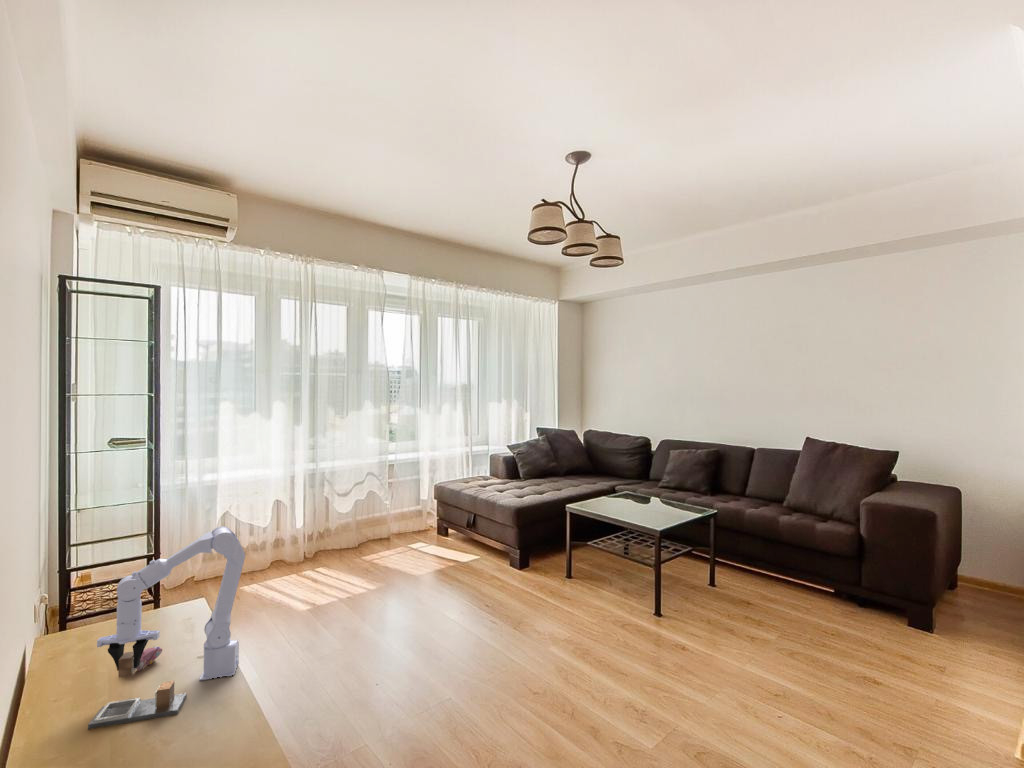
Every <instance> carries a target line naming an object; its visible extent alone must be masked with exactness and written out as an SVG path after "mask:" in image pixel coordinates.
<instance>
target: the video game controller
mask: <svg viewBox="0 0 1024 768" xmlns="http://www.w3.org/2000/svg"><path fill="white" fill-rule="evenodd" d="M162 652H163V648H161V647H160V646H157V645H154V646H153V647H148V648H144V651H143V653H142V656H141V660H140V665H139V666H138V668H137V669H136V670H137V671H138V672H140V671H142V670H143V669H144V668H145V666H146V665H147V666H148V665H149V666H151V665H152V664H153V663H154V662H155V660H156V659H157V658H158V657H159V656H160V655H161V654H162ZM141 669H142V670H141Z"/></svg>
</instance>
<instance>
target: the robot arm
mask: <svg viewBox="0 0 1024 768" xmlns="http://www.w3.org/2000/svg"><path fill="white" fill-rule="evenodd" d="M240 542H241V541H240V540H239V538H238V536H237V535H236V533H234V532H233V531H232V530H231V529H230V528H229V527H227V526H217V527H216V528H214V529H213V530H212V531H208V532H205V533H204V534H203V535H201V536H200V537H199V538H197V539H195V540H194V541H192V542H191V543H189V544H188V545H186V546H184V547H183V548H181V549H180V550H178V551H177V552H175V553H174V554H172V555H170V556H169V557H167V558H158V559H156V560H155V559H152V560H150V561H149V564H147V565H146V566H145V567H143V568H141V569H139V570H138V571H133V572H131V575H127V576H124V577H123V578H121V579H120V581H119V582H118V584H117V587H116V596H117V600H116V601H117V602H116V603H117V605H116V630H115V633H116V634H111V635H106V636H102V637H101V636H100V637H99V638H98V639H97V640H96V648H102V647H103V646H108V647H109V648H107V653H108V654H109V655H110V657H111V658H112V659H113V661H114V663H115V666H116V671H118V670H119V659H120V658H121V656H122V655H123V654H124V653H125V652H124V651H125V646H126V644H128V643H134V644H133V645H132V652H134V668H137V667H138V666H139V665H140V660H141V656H142V653H143V651H144V650H145V649H146V647H147V644H148V642H149V640H151V641H157V640H159V638H160V636H161V635H160V631H161V630H159V629H158V630H143V629H142V621H143V620H142V614H143V612H142V611H143V610H142V609H143V608H142V607H143V605H142V603H143V601H142V600H141V599H142V598H141V596H142V594H143V591H145V590H147V589H149V588H151V587H152V586H154V585H156V584H157V583H158V582H160V581H162V580H163V579H165V578H167V577H168V576H170V575H171V574H172V573H171V572H172V570H173V569H174V568H175V567H177V566H179V565H181V564H183V563H185V562H186V561H188V560H190V559H192V558H194V557H195V556H196V555H198V554H200V553H201V554H202V553H205V554H206V553H207V554H212V552H213V550H214V551H215V552H216V553H217V554H220V555H222V556H223V557H224V558H225V559H226V561H225V562H226V563H225V566H224V569H223V570H224V571H223V574H222V578H221V582H220V585H219V586H220V587H219V589H218V593H217V597H216V601H215V605H214V609H213V611H212V612H211V615H210V618H209V619H208V620H207V622H206V623H205V625H204V629H203V630H204V635H205V636H206V640H205V641H204V643H203V670H202V673H201V675H200V677H199V678H198V681H206V680H213V679H212V678H214V679H218V678H217V677H220V678H223V677H222V676H227V677H232V675H233V676H234V675H235V673H236V671H237V669H238V667H237V665H238V666H239V665H240V660H239V657H240V648H239V647H240V644H239V643H240V642H239V639H238V640H236V639H235V640H234V639H231V633H232V632H231V631H230V627H231V621H232V619H231V618H232V610H233V606H234V602H235V598H236V596H237V590H238V587H239V583H240V578H241V574H242V570H243V567H244V562H245V558H246V553H245V551H244V549H243V546H242V545H241V543H240ZM212 549H213V550H212ZM236 668H237V669H236Z"/></svg>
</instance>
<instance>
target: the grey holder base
mask: <svg viewBox="0 0 1024 768" xmlns="http://www.w3.org/2000/svg"><path fill="white" fill-rule="evenodd" d="M187 695H188V693H187V692H184V693H178V694H175V680H170V681H164V682H161V683H160V685H159V686H158V687H157V689H156V690H155V695H154V696H155V697H154V698H152V697H151V698H148V699H141V697H136V698H129V699H122V700H117V701H109V702H107V703H106V704H105V705H103V706H101V708H100V709H99V711H98V712H97V713H96V714H95V715H94V717H93V718H92V719H91V721H90V722H89V723H88V725H87V730H91V729H90V728H93V729H97V728H96V727H99V728H102V727H103V726H104V727H110V725H111V726H115V724H117V725H122V724H127V723H133V722H140V721H145V720H146V721H147V720H150V719H151V720H152V719H158V718H163V717H169V716H175V715H176V716H177V715H178V714H179V712H180V710H181V708H183V707H182V706H183V705H184V703H185V701H186V699H187Z"/></svg>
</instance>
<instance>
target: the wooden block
mask: <svg viewBox="0 0 1024 768" xmlns="http://www.w3.org/2000/svg"><path fill="white" fill-rule="evenodd" d="M137 668H138V667H137ZM137 668H134V652H133V651H128V652H124V654H123V655H122V656H121V658H120V659H119V670H118V673H117V677H118V678H126V677H131V676H132V675H133V674H134V672H135V671H136V670H137Z"/></svg>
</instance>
